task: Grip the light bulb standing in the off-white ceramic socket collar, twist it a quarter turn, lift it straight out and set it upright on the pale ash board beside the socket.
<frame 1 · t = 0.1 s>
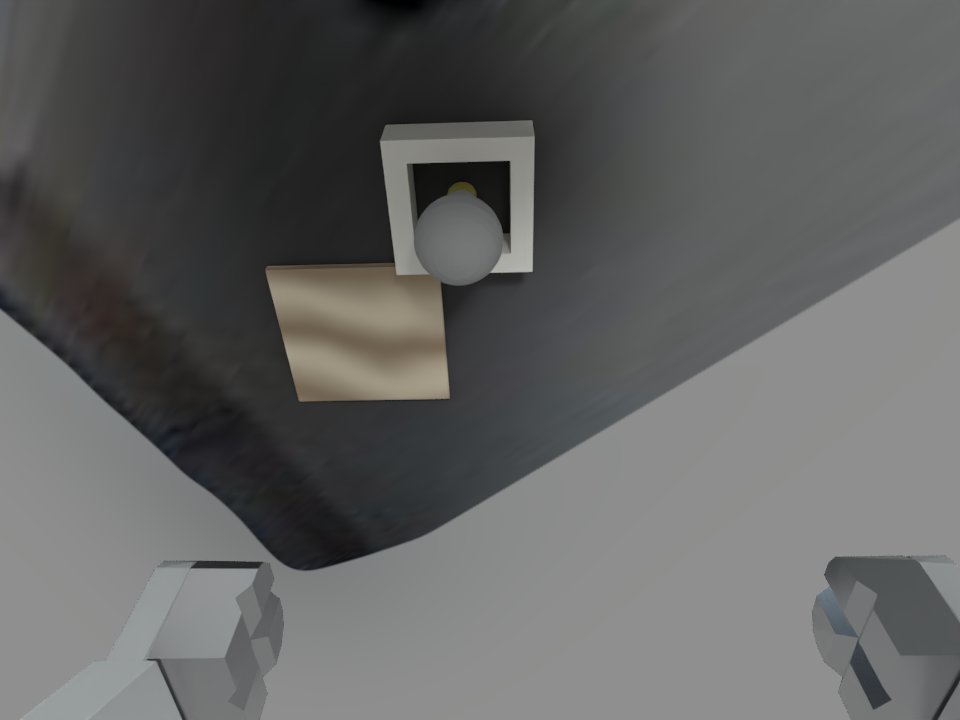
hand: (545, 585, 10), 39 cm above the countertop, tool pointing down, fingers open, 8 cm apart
board: (364, 334, 55), on the countertop
socket: (462, 191, 47), on the countertop
light bulb: (462, 190, 48), resting in socket
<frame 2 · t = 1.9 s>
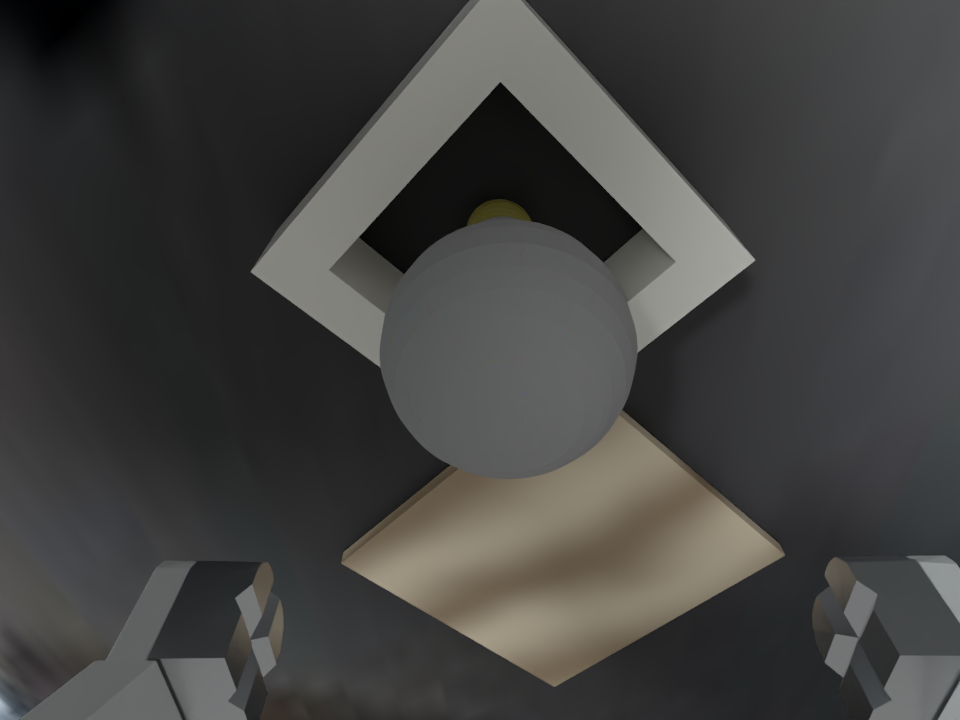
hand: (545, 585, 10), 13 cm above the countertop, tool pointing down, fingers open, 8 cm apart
board: (560, 548, 29), on the countertop
socket: (498, 223, 21), on the countertop
light bulb: (498, 221, 21), resting in socket
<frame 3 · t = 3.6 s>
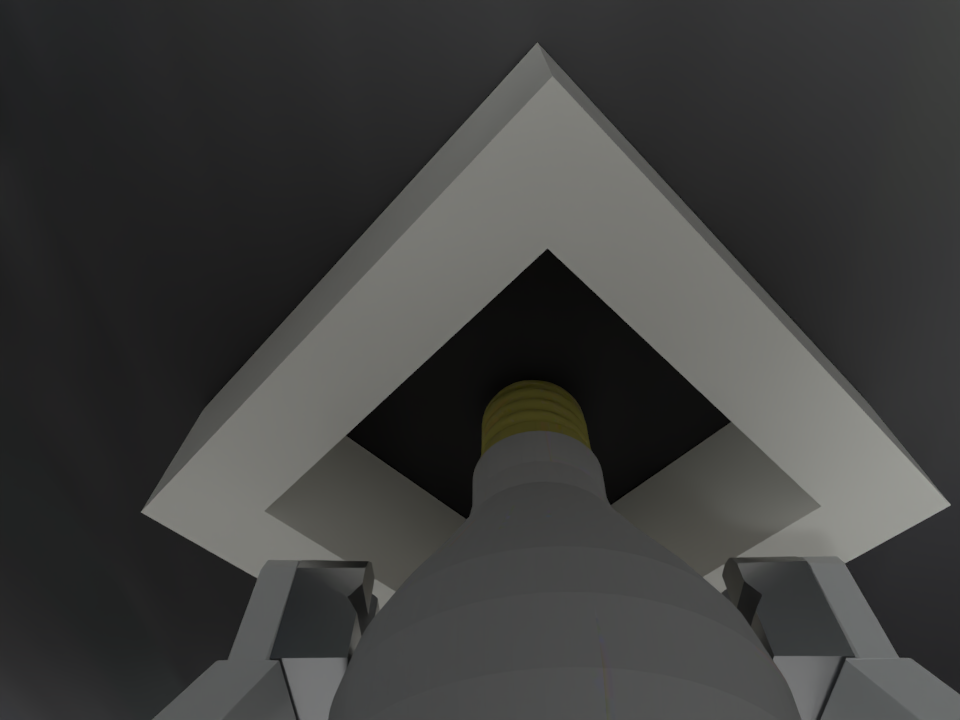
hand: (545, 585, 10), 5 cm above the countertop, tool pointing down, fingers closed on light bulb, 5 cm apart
socket: (530, 404, 14), on the countertop
light bulb: (530, 399, 14), resting in socket, touching gripper
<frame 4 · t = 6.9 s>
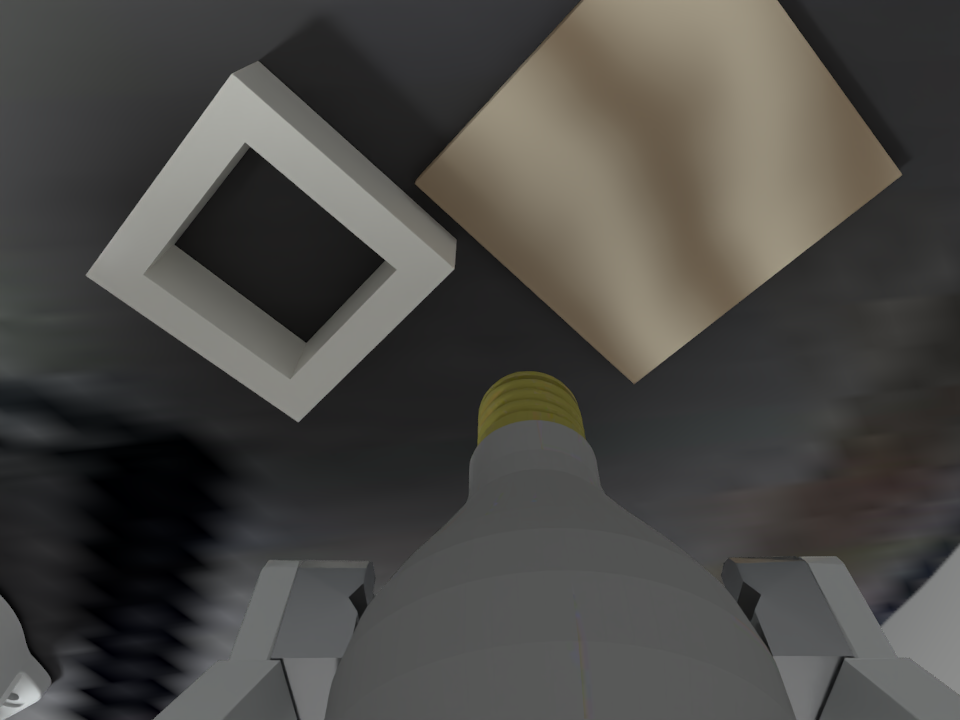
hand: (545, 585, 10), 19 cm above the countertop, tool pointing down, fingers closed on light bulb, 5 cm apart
board: (654, 174, 26), on the countertop
socket: (289, 242, 27), on the countertop
light bulb: (526, 390, 14), point 14 cm above the countertop, touching gripper
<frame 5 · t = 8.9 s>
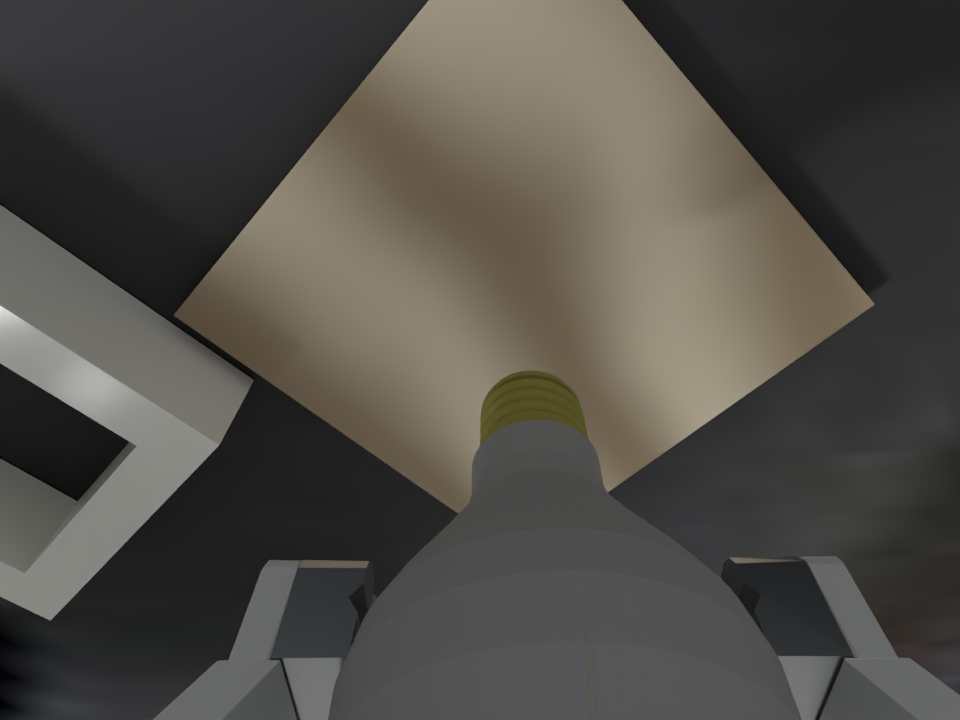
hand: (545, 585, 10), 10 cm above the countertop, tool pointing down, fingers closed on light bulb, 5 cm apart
board: (519, 299, 18), on the countertop
socket: (24, 383, 20), on the countertop
light bulb: (528, 390, 14), point 5 cm above the countertop, touching gripper
when the fingers open (7 cm above the countertop, at t = 10.4 s): light bulb drops 1 cm, resting on board.
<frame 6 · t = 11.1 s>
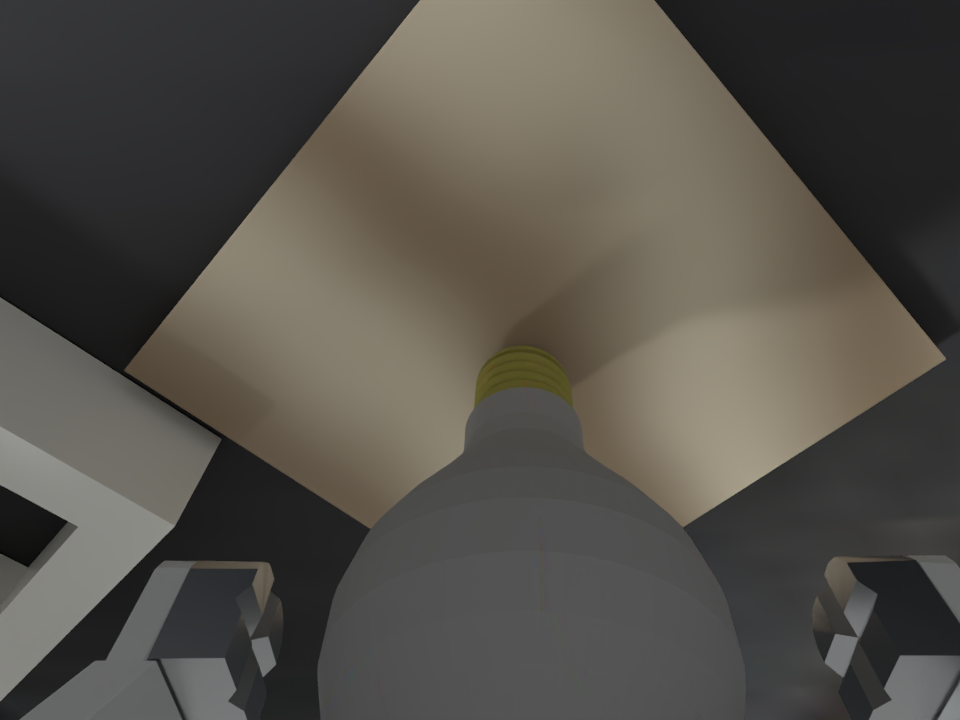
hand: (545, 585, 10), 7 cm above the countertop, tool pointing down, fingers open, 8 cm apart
board: (527, 351, 16), on the countertop
light bulb: (522, 365, 15), resting on board
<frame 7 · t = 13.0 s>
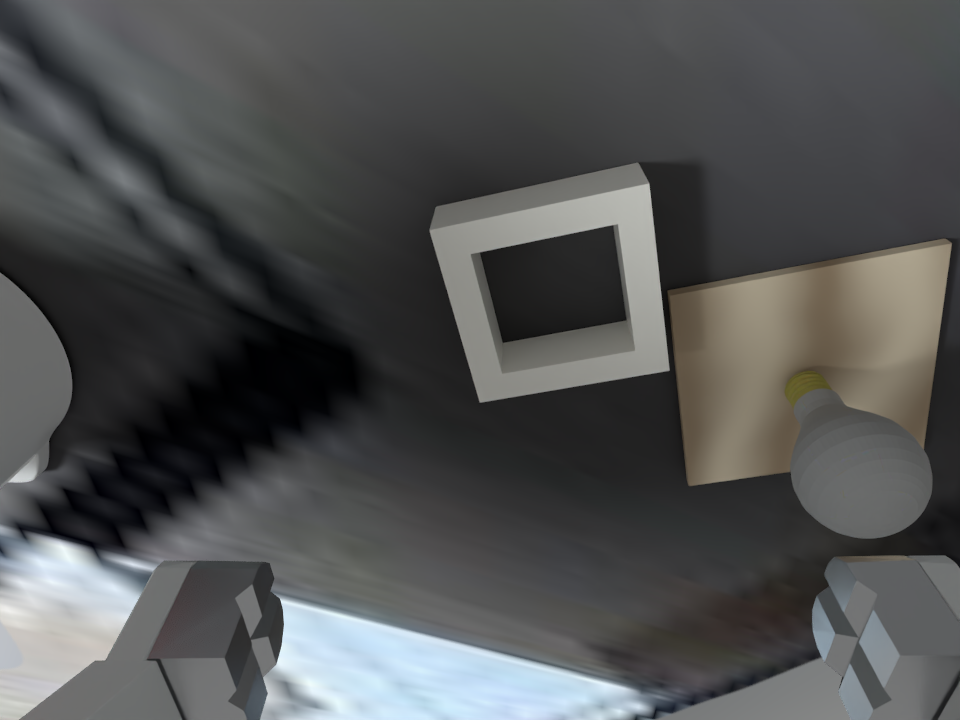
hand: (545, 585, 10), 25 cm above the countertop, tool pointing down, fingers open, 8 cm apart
board: (800, 373, 37), on the countertop
socket: (552, 276, 34), on the countertop
light bulb: (799, 377, 36), resting on board
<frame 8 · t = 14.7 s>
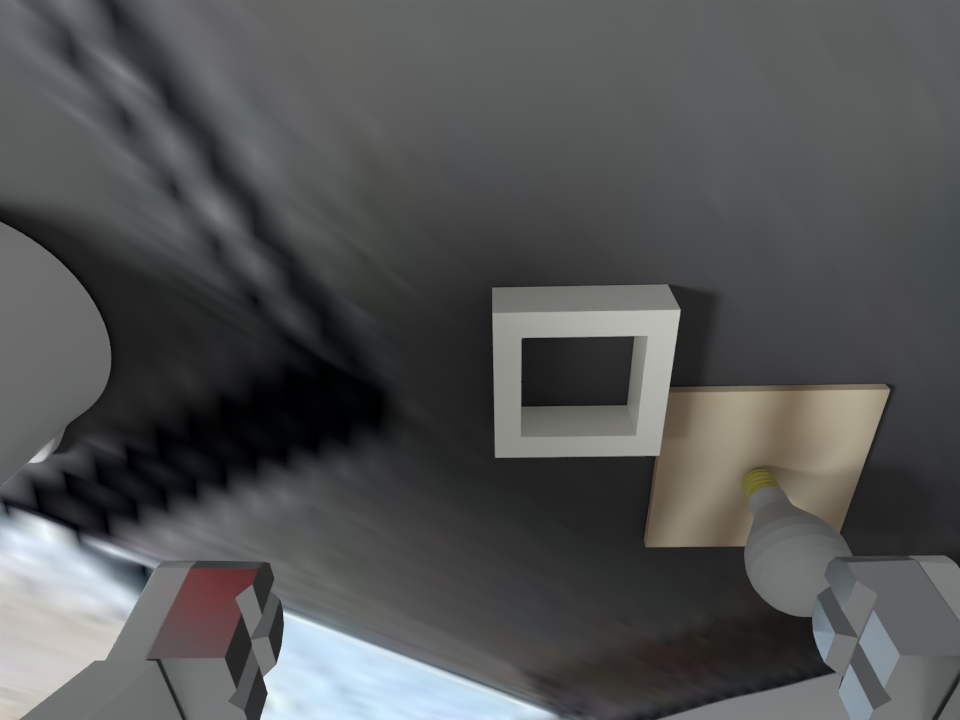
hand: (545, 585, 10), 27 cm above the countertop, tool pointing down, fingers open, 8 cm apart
board: (754, 468, 44), on the countertop
socket: (575, 360, 40), on the countertop
light bulb: (754, 472, 44), resting on board
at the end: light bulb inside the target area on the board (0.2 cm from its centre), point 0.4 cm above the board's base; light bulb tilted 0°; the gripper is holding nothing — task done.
